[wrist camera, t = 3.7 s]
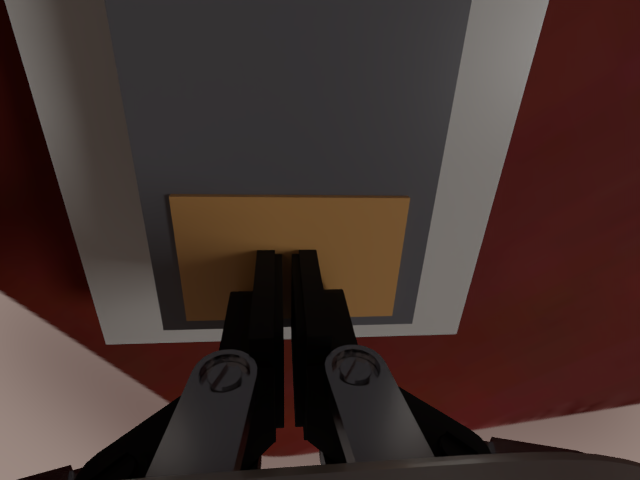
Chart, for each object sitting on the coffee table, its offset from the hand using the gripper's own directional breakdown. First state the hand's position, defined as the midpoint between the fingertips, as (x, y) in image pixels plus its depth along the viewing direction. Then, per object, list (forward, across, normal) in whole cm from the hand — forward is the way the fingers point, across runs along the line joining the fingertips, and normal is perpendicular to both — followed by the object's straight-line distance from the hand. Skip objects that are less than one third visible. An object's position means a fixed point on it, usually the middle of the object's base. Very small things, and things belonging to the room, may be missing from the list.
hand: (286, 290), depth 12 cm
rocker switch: (+1, 0, -6) cm, 6 cm away
